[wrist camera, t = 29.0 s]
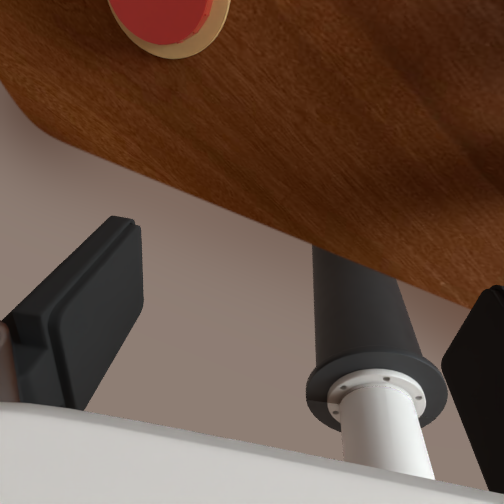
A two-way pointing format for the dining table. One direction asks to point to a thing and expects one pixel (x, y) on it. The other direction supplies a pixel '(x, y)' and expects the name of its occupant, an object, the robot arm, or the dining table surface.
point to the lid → (162, 18)
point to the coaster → (190, 45)
